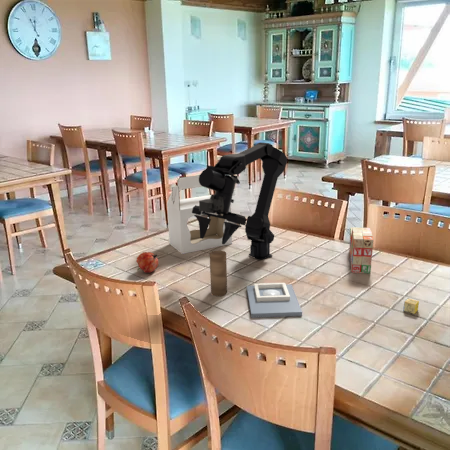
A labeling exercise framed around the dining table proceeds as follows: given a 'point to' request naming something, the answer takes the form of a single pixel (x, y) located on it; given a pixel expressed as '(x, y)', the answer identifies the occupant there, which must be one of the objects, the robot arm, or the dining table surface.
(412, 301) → the alphabet block
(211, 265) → the walnut column
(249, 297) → the baseplate
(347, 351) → the dining table surface
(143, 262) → the pomegranate
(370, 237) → the stack of blocks
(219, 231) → the gable box
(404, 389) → the dining table surface
